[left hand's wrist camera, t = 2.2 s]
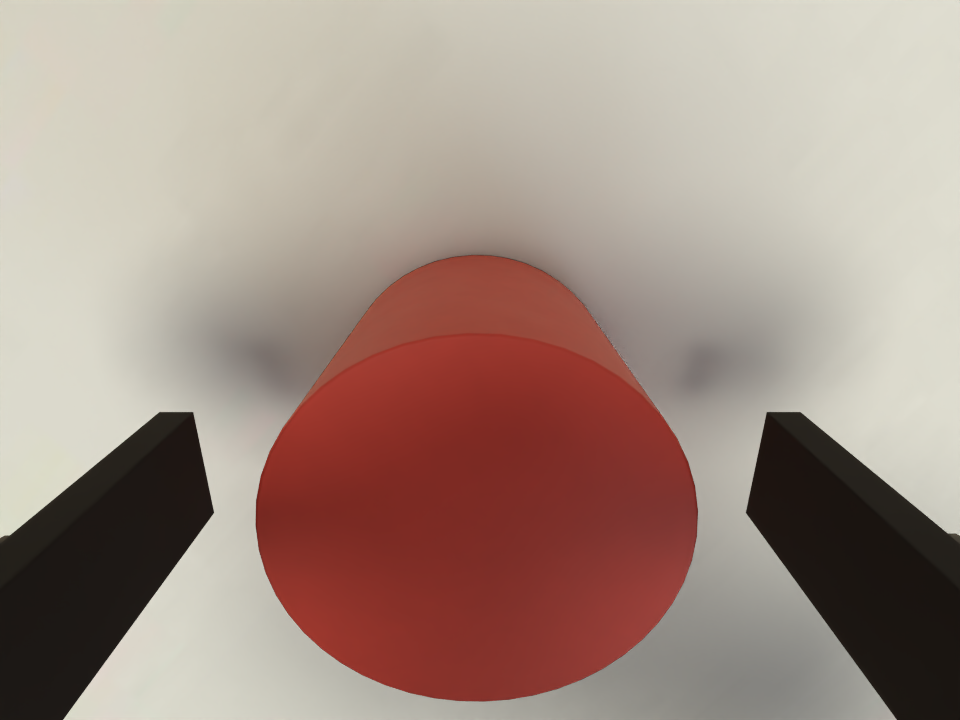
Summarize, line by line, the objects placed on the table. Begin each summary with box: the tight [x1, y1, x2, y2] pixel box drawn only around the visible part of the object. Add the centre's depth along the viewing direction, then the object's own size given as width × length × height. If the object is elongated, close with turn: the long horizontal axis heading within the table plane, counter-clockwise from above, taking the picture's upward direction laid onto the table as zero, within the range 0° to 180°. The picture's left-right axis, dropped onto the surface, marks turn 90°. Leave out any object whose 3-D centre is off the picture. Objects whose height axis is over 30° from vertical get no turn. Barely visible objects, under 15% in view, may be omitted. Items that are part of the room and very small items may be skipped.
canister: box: [256, 255, 698, 701], centre depth 14 cm, size 8×8×8 cm
